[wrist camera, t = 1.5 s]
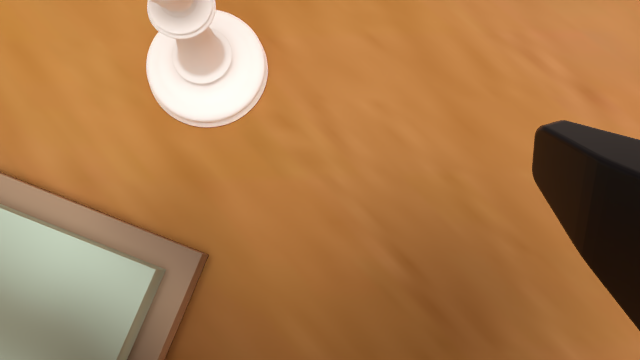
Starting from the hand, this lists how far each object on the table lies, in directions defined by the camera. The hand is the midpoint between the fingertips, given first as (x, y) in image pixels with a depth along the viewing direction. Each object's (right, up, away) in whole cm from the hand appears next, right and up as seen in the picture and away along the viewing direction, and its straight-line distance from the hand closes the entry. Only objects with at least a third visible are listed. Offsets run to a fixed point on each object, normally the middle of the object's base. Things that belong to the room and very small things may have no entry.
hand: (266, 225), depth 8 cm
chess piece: (-4, +5, +14) cm, 16 cm away
